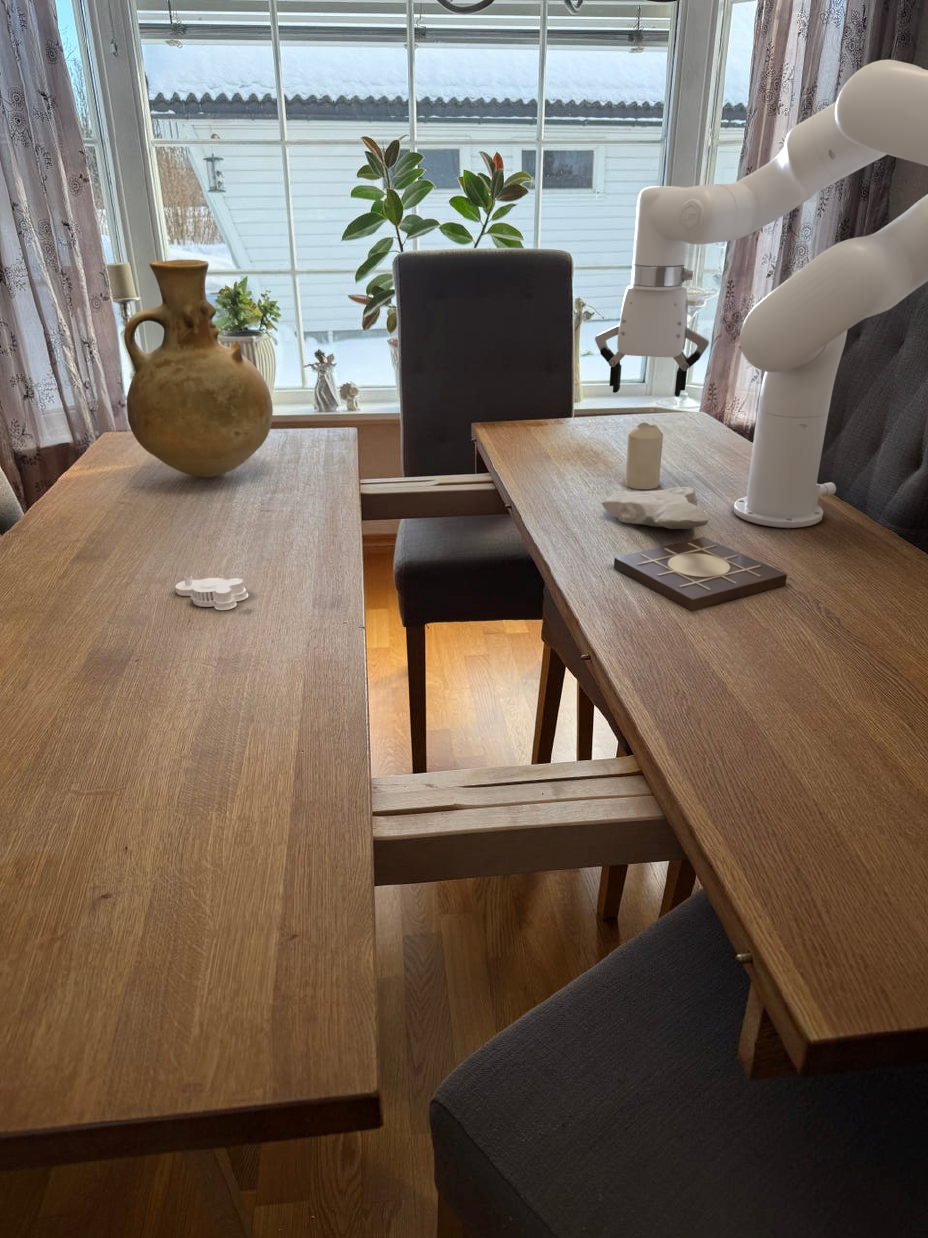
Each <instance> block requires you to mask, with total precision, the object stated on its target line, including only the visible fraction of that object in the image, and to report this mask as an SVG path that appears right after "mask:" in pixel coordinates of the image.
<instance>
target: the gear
mask: <svg viewBox="0 0 928 1238" xmlns="http://www.w3.org/2000/svg"><path fill="white" fill-rule="evenodd" d="M183 579H184V580H182V581H179V582H178V583H176V584H175V591H176V594H177V595H178V596H183V597H190V598H191V600H192V602H193V604H194V605H195V606H197V607H201V608H202V607H203V608H208V607H209V608H210V607H211V608H212V607H214V609H215V610H217V611H230V610H232V609H234V608H236V607H237V605H238V603H237V602H241V601H245V600H246V599H248V598H249V595H250V594H249V592H247V588H246V587H245V585H244V580H243V579H242V578H241V577H240V578H239V577H234V578H229V579H225V578H221V577H207V578H203V579H202V578H201V579H193V576H192V574H185V575H183Z"/></svg>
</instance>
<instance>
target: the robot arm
mask: <svg viewBox="0 0 928 1238" xmlns="http://www.w3.org/2000/svg"><path fill="white" fill-rule="evenodd" d="M887 155H888V156H890V157H895V158H897V159H898V158H899V159H902V160H906V161H909V162H912V163H916V164H920V165H922V166H926V167H928V69H924V68H922V67H921V66H919V65H916V64H912V63H909V62H904V61H900V60H895V59H881V60H877V61H873V62H870V63H868V64H866V65H864V66H863V67H861V68H860V69H858V70H857V71H855V73H853V74H852V75H851V76H850V77H849V78H848V80H847V81H846V82H845V83H844V85H843V86H842V88H841V89H840V92H839V93H838V96H837V99H836V101H834V102H833V103H831V104H829V105H827V106H826V107H824V108H823V109H821V110H820V111H818V112H816V113H815V114H812V115H811V116H810V117H808V118H806V119H805V120H803V121H801V122H800V123H798V124H796V125H794V126H793V127H792V128H791V129H790V130H789V131H788V133H787V134H786V136H785V139H784V146H783V147H782V149H781V151H780V152H779V153H778V154H777V155H776V156H775V157H774V158H773V159H771V160H770V161H769V162H767V163H765V164H764V165H762V166H760V167H759V168H757V169H756V170H754V171H752V172H751V173H749V174H747V175H745V176H744V177H741V179H739V180H737V181H735V182H733V183H731V184H729V183H723V184H721V183H719V184H701V185H694V186H688V187H683V186H678V185H677V186H673V185H656V186H655V185H654V186H653V185H652V186H647V187H644V188H642V189H641V190H640V192H639V194H638V198H637V203H636V213H635V228H634V242H633V253H632V264H631V278H630V285H627V286H626V288H625V291H624V296H623V299H622V305H621V310H620V317H619V324H618V325H616V326H614V327H611V328H608V329H607V330H605V331H603V332H601V333H599V334H597V335H596V336H595V337H594V341H595V344H596V347H597V348H598V350H599V353H600V355H601V356H602V358H603V359H604V360H605V361H606V362H607V364H608V366H609V367H610V372H609V387H612V393H613V394H617V393H618V392H619V390H620V389H621V381H622V380H621V379H622V366H623V365H622V364H621V360H622V359H623V358H625V356H631V357H634V356H635V357H649V358H650V357H651V358H673V360H674V361H675V362H676V364H677V366H678V368H677V370H676V375H675V385H674V386H675V387H674V397H677V398H679V397H680V396H681V391H686V385H687V377H688V376H687V375H688V370H689V369H690V368H691V367H692V366H693V365H695V364H696V363H697V362H698V361H699V360H700V359H701V358H702V356H703V355H704V353H705V351H706V349H707V348H708V347H709V344H710V341H709V339H708V338H706V337H704V336H702V335H701V334H699V333H697V331H695V330H692V329H691V328H689V327H688V312H689V311H688V305H689V300H688V288H687V287H686V286H682V285H683V283H684V282H687V281H692V280H693V276H694V270H689V269H686V268H687V267H685V260H686V259H685V258H686V250H687V249H686V248H687V244H691V245H709V244H715V243H724V242H725V243H726V242H732V241H736V240H739V239H742V238H744V237H746V236H748V235H750V234H752V233H754V232H756V231H758V230H760V229H762V228H763V227H766V226H767V225H769V224H772V223H773V222H775V221H777V220H778V219H780V218H782V217H784V216H785V215H788V214H789V213H791V212H792V211H794V210H796V209H797V208H798V207H799V206H800V205H802V204H804V203H805V202H807V201H809V200H810V199H811V198H812V197H813V196H815V195H816V194H818V193H819V192H821V191H822V190H825V188H827V187H830V186H831V185H833V184H835V183H837V182H839V181H840V180H843V179H844V178H846V177H848V176H850V175H852V174H853V173H856V172H858V171H859V170H861V169H863V168H865V167H867V166H869V165H871V164H873V163H875V162H876V161H878V160H880V159H881V158H884V157H885V156H887ZM927 282H928V193H927V194H926V195H924V196H923V197H921V198H920V199H919V200H918V201H916V202H915V203H914V204H912V205H911V207H909V208H908V209H907V210H906V211H904V212H903V213H901V214H900V215H899V216H897V217H896V218H895V219H893V220H892V221H891V222H889V223H888V224H887V225H885V226H883V227H882V228H881V229H879V230H878V231H875V232H874V233H871V234H868V235H863V236H858V237H851V238H848V239H845V240H842V241H839V242H838V243H836V244H834V245H832V246H830V247H828V248H827V249H826V250H823V251H822V252H820V253H819V254H818V255H817V256H816V257H814V258H813V259H812V260H810V261H809V262H808V263H807V264H805V265H804V266H803V267H801V268H800V269H799V270H798V271H796V272H795V273H794V274H793V275H791V276H790V277H789V278H787V279H786V280H785V281H784V282H782V283H781V284H779V286H777V287H776V288H775V289H773V290H772V291H771V292H769V293H768V294H767V295H766V296H764V297H763V298H762V299H761V300H760V301H758V302H757V303H756V304H755V305H754V306H753V307H752V308H751V310H750V311H749V312H748V313H747V315H746V317H745V318H744V320H743V323H742V326H741V328H740V333H739V344H740V349H741V352H742V355H743V357H744V359H745V360H746V361H747V362H748V363H749V364H750V365H751V366H752V367H754V368H755V369H758V370H760V371H763V372H764V373H763V377H762V381H761V386H760V391H759V397H758V404H757V411H756V419H755V426H754V435H753V444H752V450H751V457H750V465H749V473H748V481H747V487H746V495H745V496H742V497H741V498H738V499H737V500H735V502H734V503H733V512H734V514H735V515H736V516H737V517H739V518H740V519H742V520H744V521H746V522H749V523H753V524H756V525H760V526H766V527H769V528H770V527H773V528H780V529H781V528H784V529H791V528H792V529H795V528H796V529H797V528H805V527H810V526H813V525H816V524H818V523H819V522H821V521H822V520H823V517H824V510H823V508H822V506H820V505H819V504H818V501H819V500H820V499H822V497H823V498H824V497H828V496H832V495H835V493H836V492H837V487H836V484H835V483H834V482H832V481H831V482H825V483H821V484H820V483H818V478H819V472H820V466H821V461H822V460H821V459H822V455H823V447H824V442H825V437H826V430H827V422H828V418H829V417H828V416H829V413H830V407H831V402H832V396H833V391H834V386H835V380H836V376H837V372H838V369H839V365H840V362H841V359H842V355H843V351H844V348H845V344H846V341H847V335H848V330H849V329H850V328H852V327H854V326H856V325H857V324H858V323H860V322H862V321H864V320H865V319H867V318H871V317H873V316H877V315H879V314H882V313H885V312H886V311H889V310H891V309H892V308H894V307H895V306H896V305H898V304H899V303H900V302H902V301H903V300H904V299H906V298H907V296H909V295H910V294H912V293H913V292H914V291H916V290H917V289H918V288H920V287H921V286H923V285H924V284H926V283H927ZM616 336H617V341H616V342H617V343H616V344H617V346H616V347H617V351H616V353H614V352H613V351H612V350H611V349H610V347H609V346H608V344H607V341H608V340H609V339H611V338H614V337H616ZM686 340H688V341H690V342H692V343H694V344H695V345H696V348H695V350H694V351H693V352H692V353H691V354H690V355H689V356H686V354H685V353H684V351H683V350H685V347H686Z"/></svg>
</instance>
